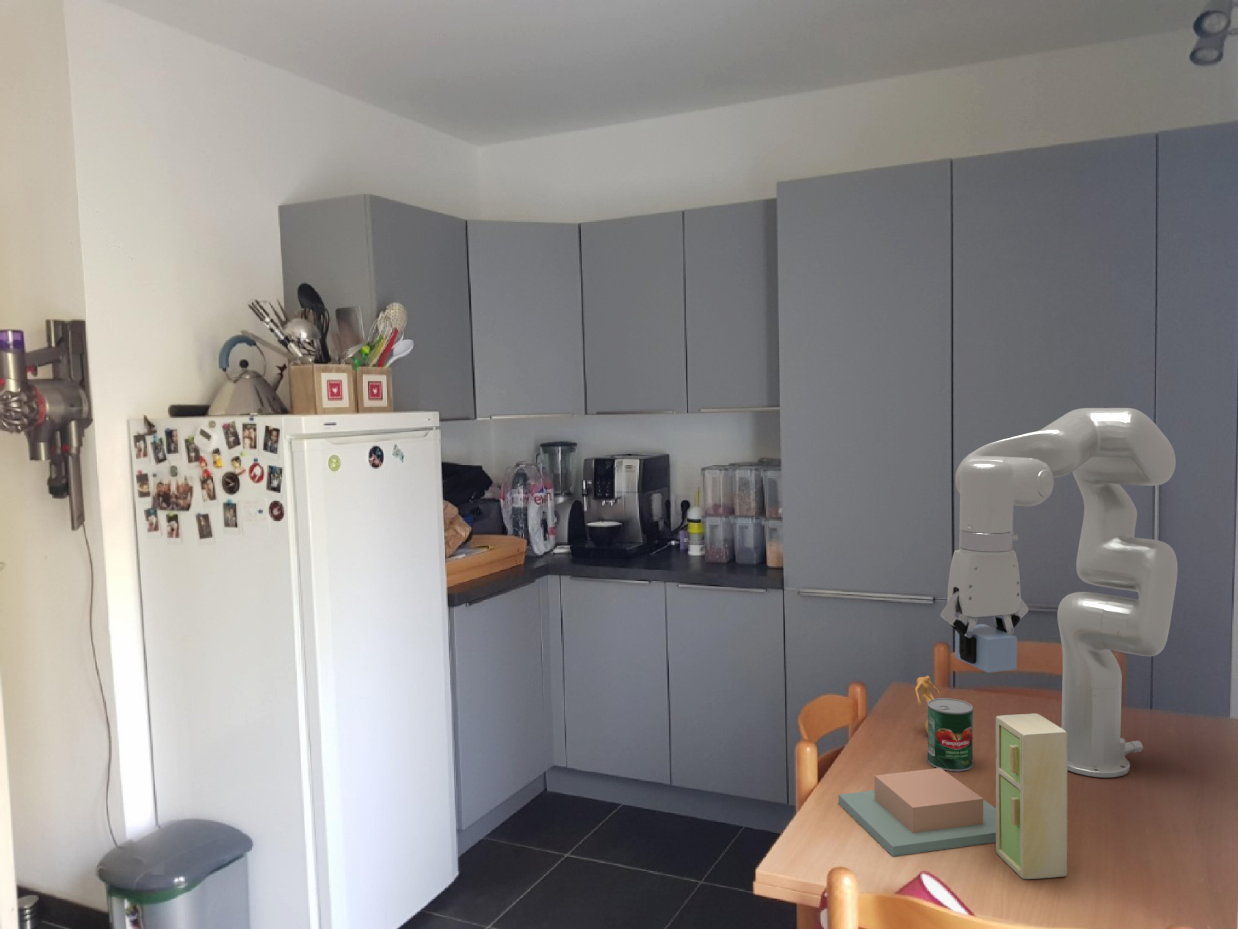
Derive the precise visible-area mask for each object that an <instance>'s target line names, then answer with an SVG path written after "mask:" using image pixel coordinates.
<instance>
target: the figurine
mask: <svg viewBox="0 0 1238 929" xmlns="http://www.w3.org/2000/svg"><path fill="white" fill-rule="evenodd" d="M930 678H931V677H930V676H929V675H926V676H924V677H923V676H919V677H917V679H916V686H915V689H914V692H915V696H916V698H917V703H918V705H919V706H922V705H923V704H922V701H921V700H920V699H921V698H920V695H919V690H920V691H921V693H922V699H923V702H925V703H926V705H928V702H929V701H930V700H933V699H935V697H934V696H933V694H932V692H931V691H930V689H931V687H932V688H933V690H935V692H937V693H938V696H940V697H941V696H942V695H941V693H940V691H939V689H938V688H937V687H936V686H935V684H933V682H932V681H931V679H930ZM926 712H927V714H928V706H927V707H926ZM924 727H925V730H926V732H927V733H928V719H927V720H926V721H925V725H924Z"/></svg>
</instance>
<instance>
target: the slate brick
mask: <svg viewBox="0 0 1238 929" xmlns="http://www.w3.org/2000/svg"><path fill="white" fill-rule="evenodd" d="M954 630H955V629H954ZM973 637H975V638H976V663H974V664H971V663H969V662H967V661H964V660H962V659H961V658H960V653H959V634H958V633H956V630H955V636H954V638H955V640H954V642H955V643H954V646H955V647H954V655H955V656H954V658H955V659H957V660H959V661H961V662H964V663H965V664H968V665H970V666H972V667H974V668H976V669H979V670H981V671H982V672H985V673H989V674H990V673H997V672H999V673H1000V672H1008V671H1017V667H1018V665H1017V663H1018V662H1017V661H1018V637H1017V636H1016V635H1014V634H1008V633H1006V632H1003V631H1000V630H998V629H996V627H992V626H989V625H987V624H985V623H983V624H982V623H980V624H979V623H978V624H976V626H975V630H974V634H973Z"/></svg>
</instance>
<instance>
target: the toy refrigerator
mask: <svg viewBox="0 0 1238 929" xmlns="http://www.w3.org/2000/svg"><path fill="white" fill-rule="evenodd" d="M995 808H996V842H995V853H996V854H997V855H998V856H999V858H1001V859H1002V860H1003V861H1004V862H1005V863H1006V865H1008V866H1009V867H1010V868H1011V869H1012V870H1013V871H1014V872H1015V873H1016V874H1017V875H1018V876H1019V878H1021V879H1022V880H1035V879H1036V880H1037V879H1047V878H1048V879H1050V878H1061V877H1067V874H1068V854H1067V853H1068V770H1067V732H1066V731H1065V730H1064V729H1062V727H1061V726H1059V725H1057V724H1056V723H1054V722H1052V721H1050V720H1049V719H1047V718H1045V717H1044V716H1043V715H1041V714H1039V713H1036V712H1035V713H1034V712H1033V713H1020V714H1019V713H1018V714H1005V715H1002V714H1001V715H997V716H995Z"/></svg>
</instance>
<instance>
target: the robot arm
mask: <svg viewBox="0 0 1238 929" xmlns="http://www.w3.org/2000/svg"><path fill="white" fill-rule="evenodd" d="M1170 442H1171V441H1169V439H1168V438H1167V437H1166V435H1165V434H1164V433H1163V432H1162V430H1161V429H1160V428H1159V427H1158V426H1157V425H1156V423H1155V422H1154V421H1153V420H1152V419H1151V418H1150V417H1149V416H1148V415H1147V414H1145V413H1143V411H1140V410H1138V409H1136V408H1132V407H1131V408H1130V407H1107V408H1106V407H1082V408H1077V409H1073V410H1071V411H1068V412H1067V413H1064V414H1063V415H1062V416H1060V417H1058V419H1055V420H1054V421H1052V422H1051V423H1049V424H1048V425H1046V426H1045V427H1043V428H1042V429H1041V428H1040V430H1036V431H1032V432H1031V431H1030V432H1026V433H1023V434H1020V435H1016V436H1012V437H1009V438H1003V439H1000V440H996V441H993V442H990V443H987V444H984V445H983V446H981V447H979V448H977V449H976V450H974V451H972V452H970V453H969V454H968V455H966V457H964V458H963V459H962V460H961V462H960V463H959V465H958V467H957V469H956V472H955V479H954V480H955V481H954V482H955V486H956V489H957V492H958V493H959V535H958V536H959V537H958V538H959V542H958V543H959V545H958V549H957V550H956V549H955V550H954V552H953V554H952V555H953V556H952V558H951V561H950V562H951V563H950V568H949V572H948V575H949V576H948V582H947V597H946V598H947V599H946V600H947V601H946V602H947V603H946V605H945V606H944V608H943V609H942V611H941V612H940V614H939V615H940V617H941V619H943V620H944V621H945V622H947V623H948V624H949V625H950V626H951V627H952V628H953V629H954V630H956V633H958V634H959V653H960V658H961V659H962V660H964V661H967V662H969V663H971V664H974V663H976V638H975V637H973V634H974V630H975V626H976V625H977V623H978V622H977V621H978V619H987V618H993V623H994V626H995V627H994V628H995V629H998V630H1000V631H1003V632H1006V633H1008V634H1011V635H1013V633H1014V630H1015V628H1016V626H1017V625H1018V624H1019V622H1020V621H1021V619H1022V618H1023V617H1024V616H1025V615H1026V614H1027V613H1028V612H1029V610H1030V608H1029V606H1028V605H1027V604H1026V603H1025V601H1024V600H1023V598H1022V597H1021V578H1020V569H1019V562H1018V556H1017V553H1016V551H1015V550H1013V547H1014V546H1013V543H1014V542H1015V543H1016V542H1017V541H1018V540H1019V535H1018V533H1017V532H1014V506H1017V507H1020V506H1021V507H1033V506H1034V507H1035V506H1038V505H1040V504H1042V503H1044V502H1045V501H1046V500H1047V499H1048V498H1049V497H1050V495H1052V492H1053V489H1054V486H1055V479H1056V478H1060V477H1061V478H1062V477H1065V476H1068V475H1069V474H1071V473H1072V475H1073V477H1074V479H1075V482H1076V484H1077V487H1078V489H1079V491H1080V493H1081V496H1082V500H1083V506H1084V507H1083V519H1082V525H1081V531H1080V536H1079V541H1078V542H1079V544H1078V550H1077V555H1076V564H1075V566H1076V573H1077V576H1078V578H1079V579H1080V580H1081V581H1082V582H1084V583H1086V584H1090V585H1093V586H1097V587H1103V588H1109V589H1115V590H1122V591H1129V592H1136V593H1137V594H1138V599H1135V598H1131V597H1123V596H1117V595H1111V594H1105V593H1101V592H1100V593H1098V592H1093V591H1092V592H1091V591H1076V592H1072V593H1069V594H1067V595H1066V596H1065V597H1063V598H1062V599H1061V601H1060V602H1059V605H1058V606H1057V615H1056V616H1057V618H1056V619H1057V626H1058V630H1059V636H1060V643H1061V654H1062V682H1061V683H1062V684H1061V686H1062V689H1061V692H1062V693H1061V728H1062V729H1064V730H1065V731H1066V732H1067V772H1068V771H1069V772H1072V773H1075V774H1078V775H1081V776H1087V777H1094V778H1106V779H1107V778H1117V777H1122V776H1125V775H1126V774H1128V773H1129V772H1130V766H1131V763H1130V761H1129V760H1128V758H1126V756H1127V755H1129V753H1141V752H1143V750H1144V746H1143V743H1142V742H1141V741H1140V740H1135V741H1134V740H1132V741H1127V742H1126V740H1125V738H1124V737H1123V738H1122V737H1121V730H1122V729H1121V726H1122V724H1121V722H1122V685H1123V684H1122V681H1123V679H1122V677H1123V675H1122V670H1121V666H1120V664H1119V662H1118V660H1117V659H1116V657H1115V655H1114V654H1113V652H1112V651H1115V652H1119V653H1125V654H1131V655H1136V656H1143V657H1154V656H1157V655H1159V654H1160V653H1162V651H1163V650H1164V649H1165V647H1166V644H1167V642H1168V638H1169V637H1168V636H1169V632H1170V627H1171V621H1172V613H1173V608H1174V603H1175V602H1174V600H1175V596H1176V595H1175V594H1176V587H1177V581H1178V571H1179V570H1178V567H1179V566H1178V559H1177V555H1176V552H1175V550H1174V549H1173V547H1172V546H1171V545H1170V544H1167V543H1166V542H1164V541H1161V540H1158V539H1151V538H1150V539H1149V538H1144V537H1143V538H1142V537H1141V538H1140V537H1135V535H1136V533H1135V532H1136V526H1137V518H1138V510H1137V508H1136V506H1135V504H1134V502H1133V500H1132V498H1131V496H1130V495H1129V494H1128V493H1127V492H1126V490H1125V489H1124V488H1123V487H1122V486H1121V485H1129V486H1131V485H1132V486H1148V487H1149V486H1151V487H1154V486H1161V485H1163V484H1165V483H1167V482H1168V481H1169V480H1170V479H1171V478H1172V476H1173V475H1174V472H1175V470H1176V466H1177V464H1176V463H1177V462H1176V460H1177V459H1176V453H1175V449H1174V447H1173V446H1172V444H1171V443H1170ZM956 614H959V615H958V617H957V616H956ZM1128 771H1129V772H1128ZM1124 774H1125V775H1124Z"/></svg>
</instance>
